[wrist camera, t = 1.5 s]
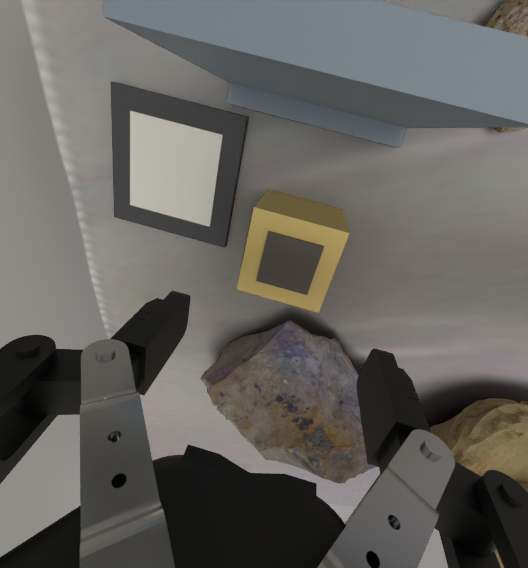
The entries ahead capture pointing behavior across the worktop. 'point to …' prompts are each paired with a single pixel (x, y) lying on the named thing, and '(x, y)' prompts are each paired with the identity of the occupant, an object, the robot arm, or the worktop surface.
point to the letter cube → (292, 250)
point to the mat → (175, 163)
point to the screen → (344, 62)
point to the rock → (511, 27)
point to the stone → (293, 400)
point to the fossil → (490, 439)
